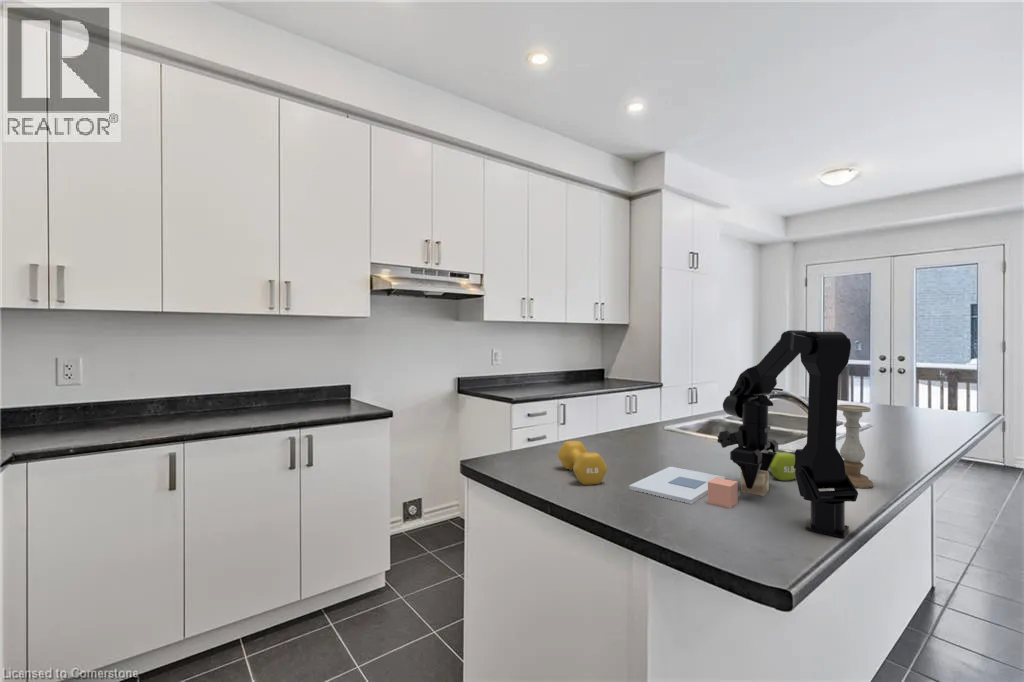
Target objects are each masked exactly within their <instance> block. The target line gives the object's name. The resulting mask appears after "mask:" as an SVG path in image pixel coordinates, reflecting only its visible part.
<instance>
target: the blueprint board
mask: <svg viewBox="0 0 1024 682" xmlns="http://www.w3.org/2000/svg"><path fill="white" fill-rule="evenodd" d="M715 477H716V478H722V479H727V480H728V476H727V477H726V476H722V475H716V474H712V473H707V472H702V471H697V470H691V469H685V468H680V467H675V466H668V467H666V468H664V469H662V470H659V471H657V472H655V473H652V474H651V475H649V476H647V477H644V478H642V479H640V480H638V481H636V482H633V483H632V484H629V485H628V490H630V491H633V492H634V491H635V492H638V491H639V493H642V492H644V494H646V493H648V494H647V495H651V494H652V495H651V496H655V495H656V496H655V497H659V496H660V498H663V497H664V499H667V498H668V500H671V499H672V500H673V501H676V500H677V502H680V501H681V502H680V503H684V502H685V503H686V504H688V505H689V504H690V505H692V504H694V503H696V502H697V501H699V500H700V499H701V498H703V497H705V496H707V495H708V482H709V481H710V480H712V479H714V478H715ZM672 500H671V501H672Z"/></svg>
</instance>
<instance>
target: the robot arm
mask: <svg viewBox="0 0 1024 682" xmlns="http://www.w3.org/2000/svg"><path fill="white" fill-rule="evenodd" d="M851 343H852V342H851V339H850V338H848V337H847V335H846V334H845V333H844V332H843V331H806V330H804V329H803V330H800V329H799V330H795V329H793V330H789V329H788V330H786V331H782V334H781V335H780V339H779V340H778V341H777V342H776V343H775V344H774V346H773V347H772V348H771V349H770V350H769V351H768V352H767V354H766V355H765V356H764V357H763V358H762V359H761V360H760V362H759V363H757V364H756V365H754V366H751V367H748V368H747V369H745V370H743V371H742V372H741V373H740V374H739V376H738V378H737V380H736V382H735V384H734V387H733V388H732V390H729V395H727V396H726V397H725V398H724V399H723V402H722V410H723V411H724V412H725V413H726V414H727V415H729V416H733V417H736V418H739V419H742V424H741V425H739V427H738V429H737V430H734V431H733V430H732V431H728V430H724V431H719V434H718V436H717V440H716V441H717V443H718V444H720V446H721V448H722V449H724V448H727V447H729V446H733V445H734V446H735V445H737V446H736V447H735V448H733V449H732V450H730V452H729V456H730V457H729V459H730V460H731V461H732V462H733V463H734V464H736V465H737V466H738V467H739V469H740V470H741V472H742V474H743V477H744V480H745V484H746V487H747V488H749V489H752V487H753V485H754V482H755V480H756V477H757V475H758V472H759V470H763V471H769V470H770V468H769V467H770V465H771V463H772V461H773V459H774V457H775V455H776V454H777V452H778V451H779V443H778V442H777V441H776V440H775V439H772V438H769V431H771V426H770V425H769V407H773V406H774V403H773V402H772V400H771V399H769V397H768V395H770V394H771V393H772V392H773V390H774V389H775V388H776V386H777V381H778V380H777V377H778V376H779V375H780V374H781V373H782V372H783V371H784V370H785V369H786V368H787V367H788V366H789V365H790V364H791V363H792V362H793V361H794V360H795V359H796V358H797V357H798V356H799V355H800V362H801V364H802V365H803V366H804V368H805V370H806V371H807V373H808V403H807V429H806V430H807V433H806V443H805V446H804V447H803V448H797V449H796V450H795V452H794V456H795V465H794V469H795V468H796V471H795V475H796V477H795V478H796V483H797V488H798V492H799V496H800V497H803V499H804V500H805V501H810V520H809V521H808V522H807V524H806V525H805V529H806V530H808V531H811V532H816V533H821V534H824V535H829V536H833V537H837V538H842V539H843V538H845V537H846V536H847V534H848V532H849V530H850V526H849V525H846V524H845V517H846V516H845V514H846V513H845V511H846V510H845V508H846V506H845V504H846V502H857V498H858V495H859V492H858V490H857V489H856V487H854V485H853V484H852V482H851V480H850V479H849V477H848V476H847V474H846V472H845V463H844V459H843V458H842V456H841V454H840V451H839V450H838V449H837V428H838V427H837V423H838V410H837V405H838V399H839V398H838V397H839V396H838V395H839V377H840V375H841V374H842V373H843V371H844V369H845V368H846V366H847V365H848V364H849V362H850V361H849V360H850V355H851V349H852V344H851ZM827 489H828V490H827ZM829 489H831V490H829ZM832 489H833V490H832Z"/></svg>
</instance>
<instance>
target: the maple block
mask: <svg viewBox="0 0 1024 682" xmlns="http://www.w3.org/2000/svg"><path fill="white" fill-rule="evenodd" d="M769 473H770V472H769V470H768V471H763V470H759V472H758V475H757V477H756V480H755V482H754V485H753V487H752V489H749V488H747V487H746V484H745V480H744V477H743V474H742V471H741V472H740V479H741V480H740V492H741V491H742V493H746V494H747V493H748V494H753V495H756V496H762V497H763V496H765V495H766V494H767V493H769V488H770V486H769V485H770V483H769V482H770V481H769V480H770V479H769V478H770V477H769V476H770V474H769Z"/></svg>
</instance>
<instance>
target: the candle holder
mask: <svg viewBox="0 0 1024 682" xmlns="http://www.w3.org/2000/svg"><path fill="white" fill-rule="evenodd" d="M837 411H840V412H841V411H842V415H843V416H844V418H845V420H846V421H845V423H844V424H843V427H845V439H844V442H843V443H842V446H841V447H840V449H839V453H840V455H841V456H842V458H843V460H844V463H845V472H846V474H847V476H848V477H849V479H850V480H851V482H852V484H853V485H854V487H855V488H858V489H859V488H860V489H869V487H870V488H872V486H873V487H874V481H872V480H871V479H869V477H868V476H867V475H865V474H863V473H861V471H862V469H863V467H864V466H865V465H864V463H863V462H862V461H863V460H864V459H865V457H866V452H865V449H864V447H863V446H862V443H861V440H860V429H861V428H862V425H861V424H860V419H861V418H862V417H863V413H870V412H871V408H870V406H865V405H859V404H858V405H857V404H837Z"/></svg>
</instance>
